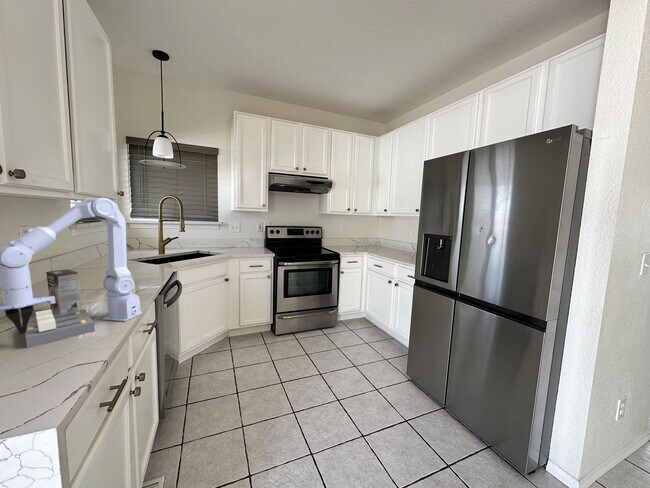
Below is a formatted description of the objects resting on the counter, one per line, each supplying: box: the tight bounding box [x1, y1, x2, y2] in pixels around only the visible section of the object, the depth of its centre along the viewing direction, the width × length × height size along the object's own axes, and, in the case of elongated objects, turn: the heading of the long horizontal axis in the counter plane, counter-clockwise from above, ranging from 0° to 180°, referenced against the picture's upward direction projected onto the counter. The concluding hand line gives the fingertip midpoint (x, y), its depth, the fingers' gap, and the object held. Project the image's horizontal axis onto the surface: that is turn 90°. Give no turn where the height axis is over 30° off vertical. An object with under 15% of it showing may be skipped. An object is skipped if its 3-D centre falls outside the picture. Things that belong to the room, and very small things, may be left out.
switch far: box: [35, 308, 52, 320], centre depth 89 cm, size 4×3×2 cm
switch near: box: [38, 318, 56, 332], centre depth 82 cm, size 4×3×2 cm
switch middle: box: [37, 313, 54, 324], centre depth 85 cm, size 4×3×2 cm
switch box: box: [24, 309, 96, 349], centre depth 88 cm, size 15×17×3 cm
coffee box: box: [46, 268, 82, 315], centre depth 102 cm, size 9×6×16 cm
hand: (22, 332), depth 78 cm, fingers closed
